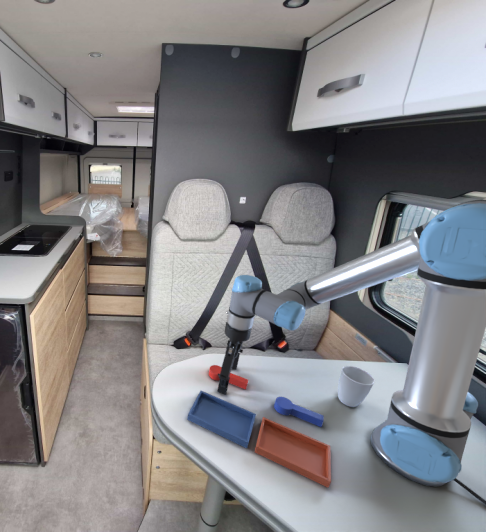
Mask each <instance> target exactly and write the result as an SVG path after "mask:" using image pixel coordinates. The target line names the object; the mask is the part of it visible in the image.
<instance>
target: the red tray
mask: <svg viewBox="0 0 486 532" xmlns="http://www.w3.org/2000/svg"><path fill="white" fill-rule="evenodd" d="M257 435H258V436H257V439H256V444H255V447H254V453H256V454H257V455H259V456H261V457H263V458H266V459H268V460H269V461H272V462H274V463H276V464H277V465H280V466H282V467H284V468H286V469H288V470H291V471H292V472H294V473H296V474H298V475H301V476H303V477H305V478H307V479H308V480H311V481H313V482H315V483H317V484H320V485H321V486H323V487H326V488H328V489H329V488H330V485H331V483H332V462H331V461H332V458H331V456H332V454H331V451H332V450H331V445H330V444H327V443H326V442H324V441H320V440H318V439H316V438H313V437H311V436H309V435H307V434H304V433H302V432H300V431H298V430H294V429H292V428H290V427H288V426H285V425H284V424H281V423H278V422H276V421H274V420H271V419H270V418H266V417H264V416H263V417H262V418H261V423H260V427H259V432H258V434H257Z"/></svg>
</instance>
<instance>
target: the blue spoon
mask: <svg viewBox="0 0 486 532" xmlns="http://www.w3.org/2000/svg"><path fill="white" fill-rule="evenodd" d="M273 408H274V410H275V411H276V412H277V413H278V414H280V415H283V416H292V417H295V418H297V419H300V420H302V421H305V422H307V423H310V424H312V425H314V426H317V427H319V428H322V427H323V424H324V421H325V420H324V419H325V417H324V415H323V414H320V413H319V412H315V411H314V410H310V409H308V408H305V407H303V406H301V405H298V404H295V403H293V401H291V399H289V398H287V397H285V396H277V397H276V398H275V400H274V404H273Z"/></svg>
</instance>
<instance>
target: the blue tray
mask: <svg viewBox="0 0 486 532" xmlns="http://www.w3.org/2000/svg"><path fill="white" fill-rule="evenodd" d="M256 416H257V413H255V412H252V411H250V410H247V409H245V408H243V407H241V406H239V405H236V404H234V403H232V402H229V401H227V400H225V399H222V398H219V397H217V396H215V395H213V394H210V393H209V392H206V391H203V390H199V393H198V394H197V397H196V399H195V400H194V401H193V404H192V406H191V407H190V410H189V412H188V413H187V419H186V420H187V421H189V422H191V423H193V424H195V425H197V426H198V427H202V428H204V429H206V430H207V431H209V432H212V433H214V434H215V435H218V436H220V437H221V438H224V439H226V440H228V441H230V442H233V444H236V445H239V446H241V447H243V448H245V449H248V446H249V443H250V440H251V439H250V438H251V435H252V431H253V428H254V425H255V420H256Z"/></svg>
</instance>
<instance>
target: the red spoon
mask: <svg viewBox="0 0 486 532" xmlns="http://www.w3.org/2000/svg"><path fill="white" fill-rule="evenodd" d="M221 368H222V366H220V365H218V364H213V365H210V366H209V368H208V377H209V378H210V379H212V380H214V381H218V382H219V380H220V378H219V376H218V373H219V374H220V372H221ZM229 377H230V379H229V385H230V384H231V385H233V386H235V387H238V388H241V389H243V390H247V388H248V384H249V379H247V378H245V377H243V376H240V375H238V374H234V373H232V372H230V376H229Z"/></svg>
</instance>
